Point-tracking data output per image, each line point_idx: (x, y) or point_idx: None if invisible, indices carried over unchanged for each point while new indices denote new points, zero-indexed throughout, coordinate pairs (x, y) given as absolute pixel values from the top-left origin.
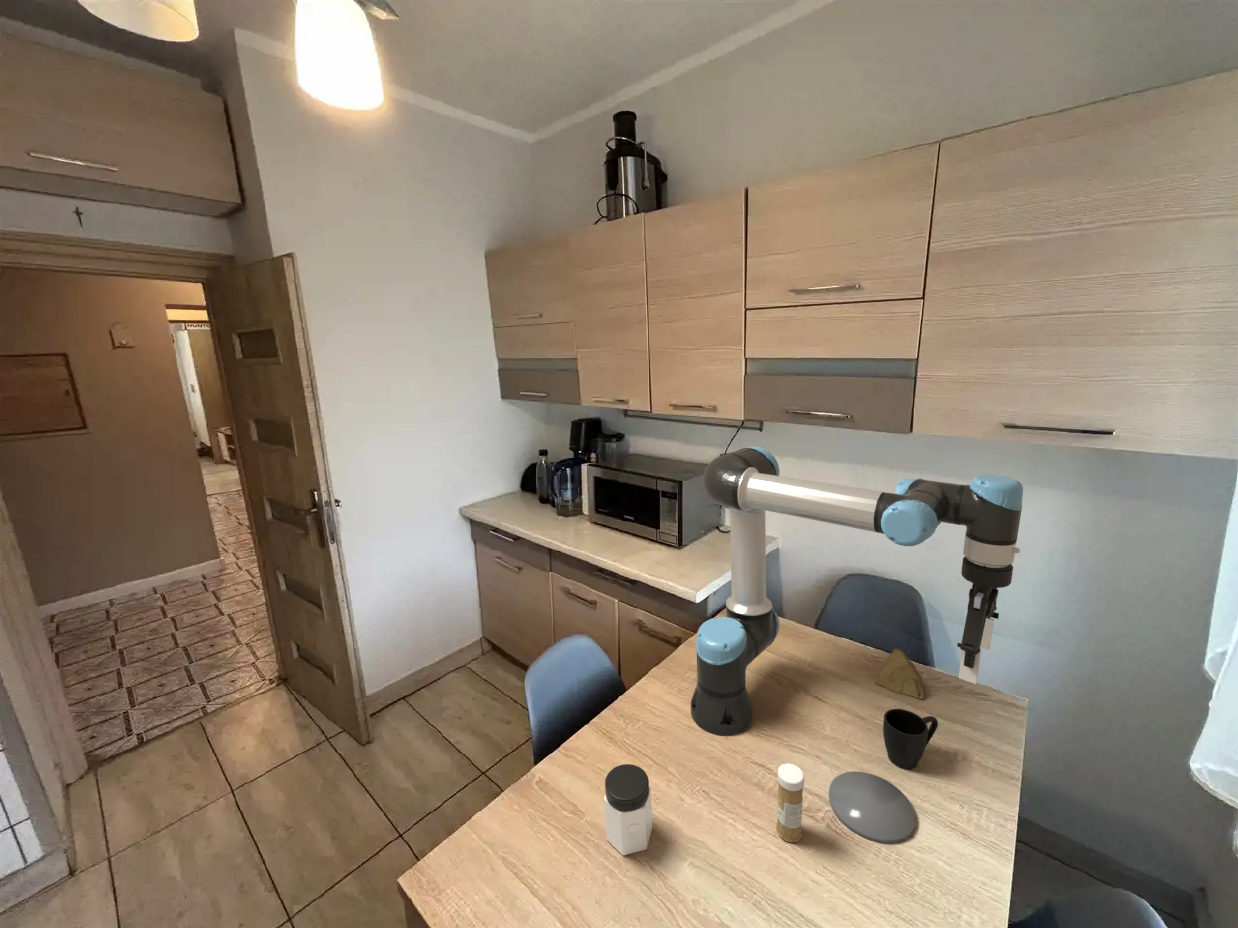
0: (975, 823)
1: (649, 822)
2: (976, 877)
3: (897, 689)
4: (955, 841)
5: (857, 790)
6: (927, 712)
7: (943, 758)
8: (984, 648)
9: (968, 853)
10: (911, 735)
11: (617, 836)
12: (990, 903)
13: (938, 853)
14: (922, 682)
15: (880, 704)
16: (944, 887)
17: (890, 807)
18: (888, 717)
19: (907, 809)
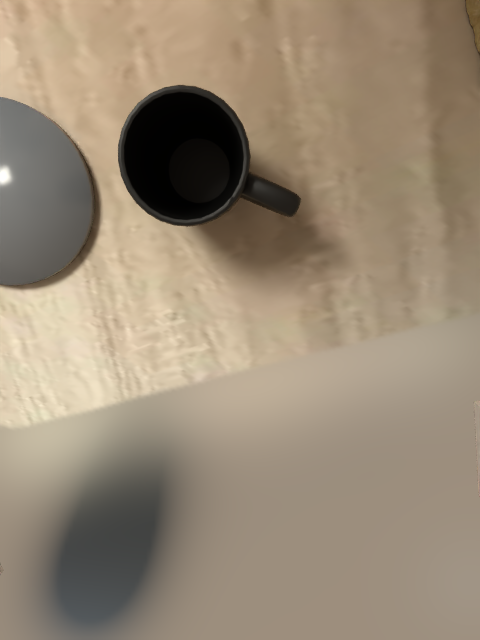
0: (153, 348)
1: None
2: (43, 388)
3: (474, 7)
4: (81, 341)
5: (2, 156)
6: (433, 127)
7: (282, 235)
8: (477, 471)
9: (77, 364)
10: (138, 202)
11: None
12: (18, 417)
13: (29, 332)
14: None
15: (368, 8)
16: None
17: (27, 231)
18: (186, 99)
19: (55, 256)
